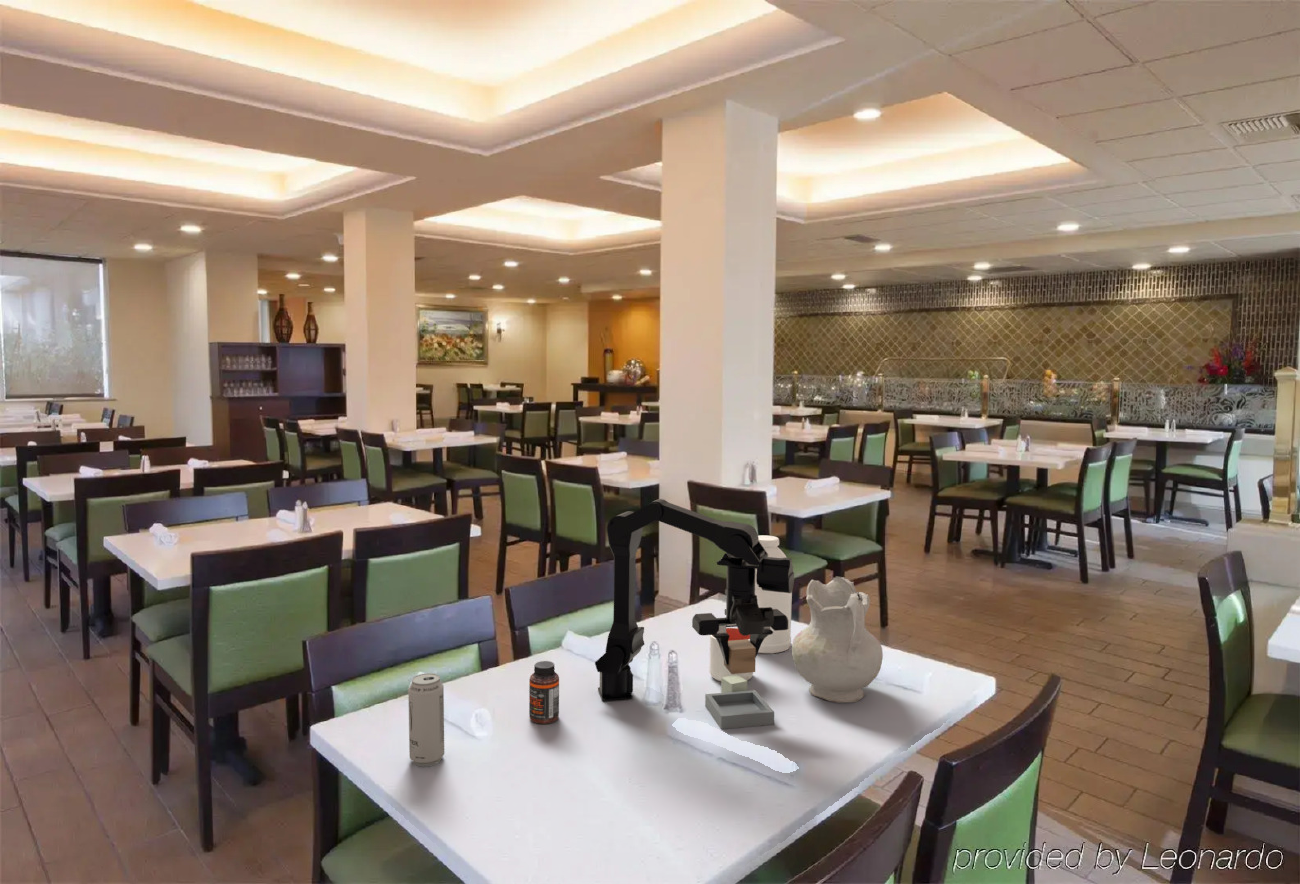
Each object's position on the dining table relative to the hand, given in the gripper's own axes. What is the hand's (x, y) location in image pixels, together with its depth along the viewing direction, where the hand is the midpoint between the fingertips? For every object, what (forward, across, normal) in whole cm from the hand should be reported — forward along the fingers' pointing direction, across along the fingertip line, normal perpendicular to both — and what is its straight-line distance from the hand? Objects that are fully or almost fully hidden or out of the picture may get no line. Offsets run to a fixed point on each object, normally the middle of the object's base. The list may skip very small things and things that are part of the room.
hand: (739, 663), depth 162 cm
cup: (+11, +5, +20) cm, 23 cm away
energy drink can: (+11, -61, -7) cm, 62 cm away
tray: (+11, 0, 0) cm, 11 cm away
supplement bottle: (+11, -39, +6) cm, 41 cm away
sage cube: (+11, +2, +9) cm, 14 cm away
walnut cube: (+1, 0, 0) cm, 1 cm away
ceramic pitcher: (+11, +25, +6) cm, 28 cm away
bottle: (+11, +20, +39) cm, 45 cm away
